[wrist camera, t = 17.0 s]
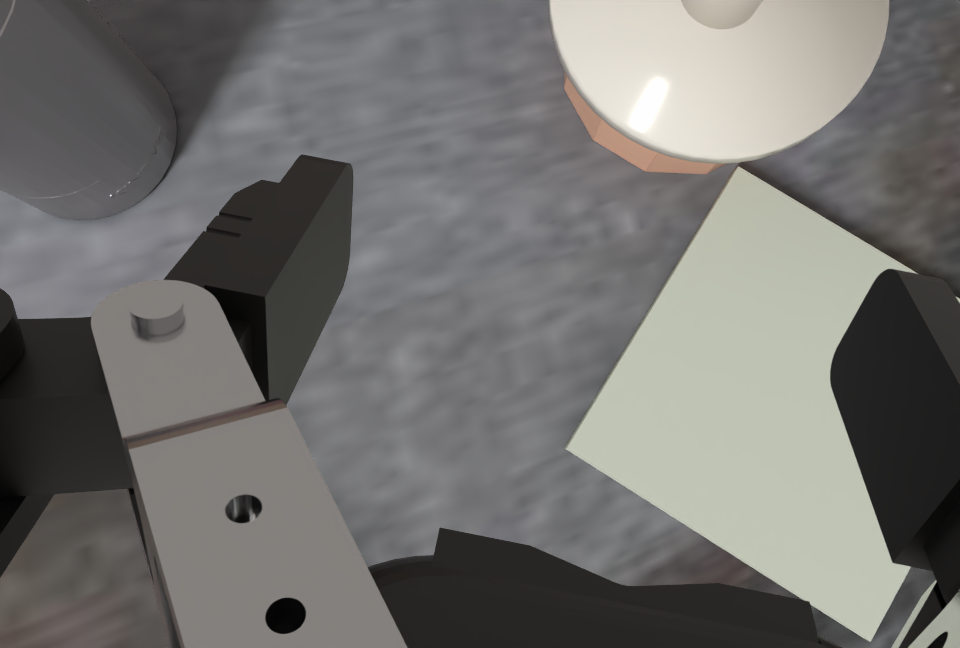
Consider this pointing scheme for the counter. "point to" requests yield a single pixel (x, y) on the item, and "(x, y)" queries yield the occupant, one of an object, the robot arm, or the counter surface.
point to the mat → (753, 402)
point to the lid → (718, 69)
